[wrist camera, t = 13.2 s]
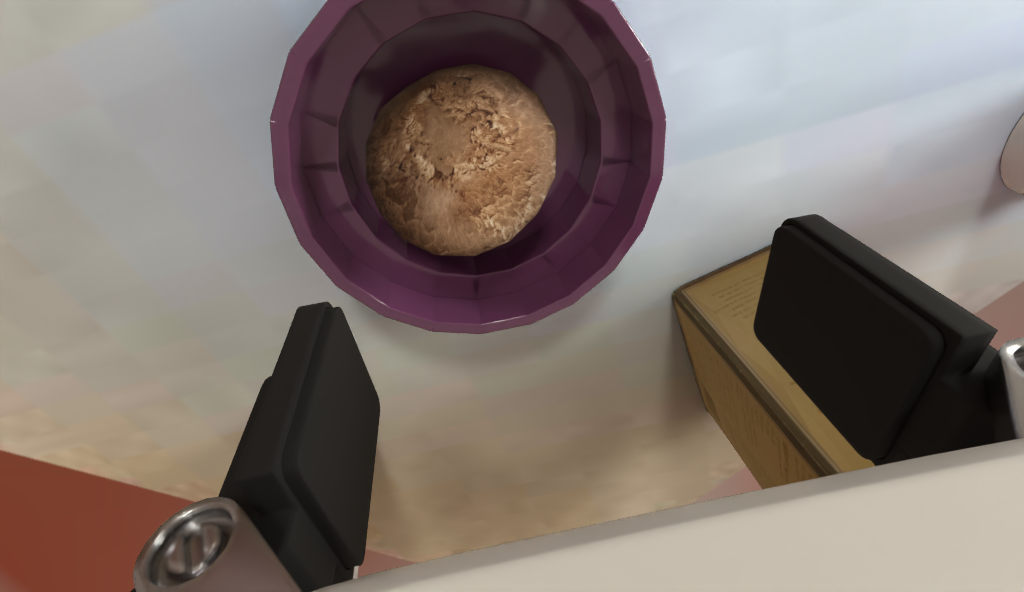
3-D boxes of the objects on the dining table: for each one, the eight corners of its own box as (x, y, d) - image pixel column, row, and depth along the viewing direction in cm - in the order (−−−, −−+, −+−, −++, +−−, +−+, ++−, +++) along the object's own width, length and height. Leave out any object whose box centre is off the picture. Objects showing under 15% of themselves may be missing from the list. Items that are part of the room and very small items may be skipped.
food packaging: (820, 364, 36) (1339, 866, 16) (704, 413, 37) (1050, 944, 17) (810, 224, 29) (1770, 835, 8) (664, 291, 30) (1202, 978, 9)
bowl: (238, -20, 18) (185, -18, 14) (624, -76, 19) (680, -91, 15) (360, 302, 27) (349, 360, 23) (620, 252, 28) (655, 300, 24)
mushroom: (543, 276, 23) (528, 272, 17) (390, 247, 24) (323, 233, 18) (575, 111, 23) (571, 46, 17) (418, 90, 24) (359, 21, 18)
